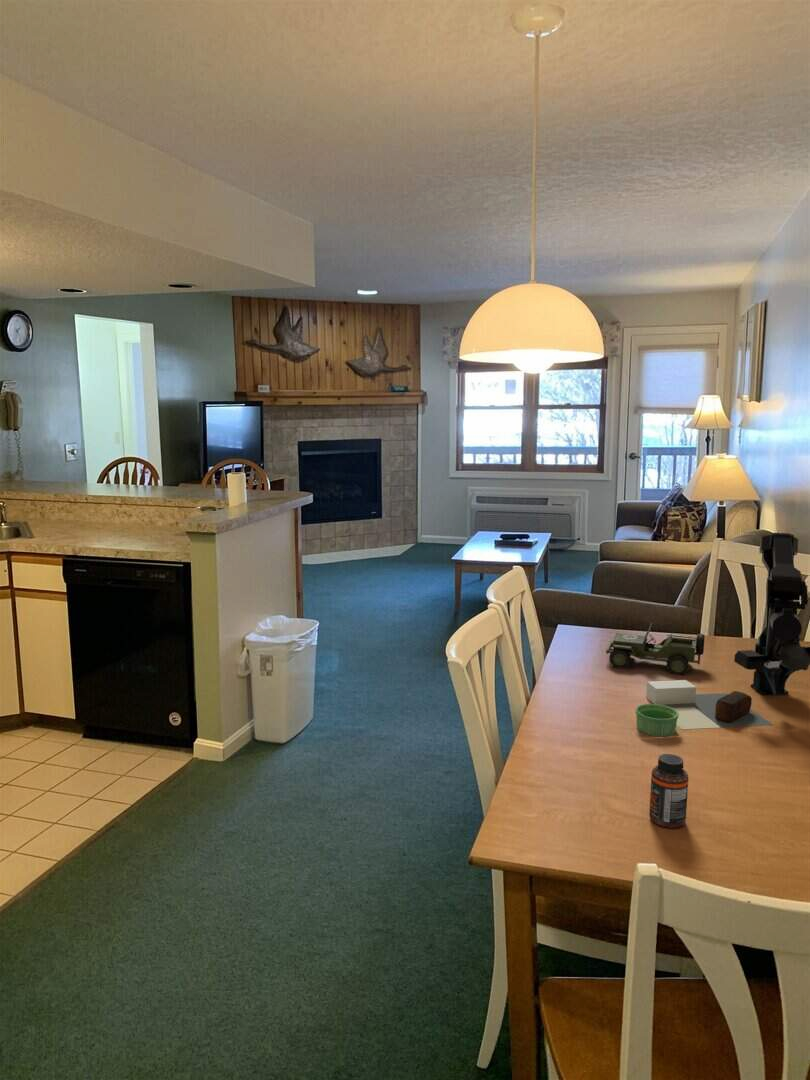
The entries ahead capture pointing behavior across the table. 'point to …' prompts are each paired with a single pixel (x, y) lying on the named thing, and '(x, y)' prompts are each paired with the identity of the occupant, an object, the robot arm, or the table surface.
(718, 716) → the brick
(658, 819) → the supplement bottle
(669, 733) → the ramekin
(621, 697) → the table surface
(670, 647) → the toy jeep
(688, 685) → the block
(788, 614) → the robot arm
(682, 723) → the grey mat
